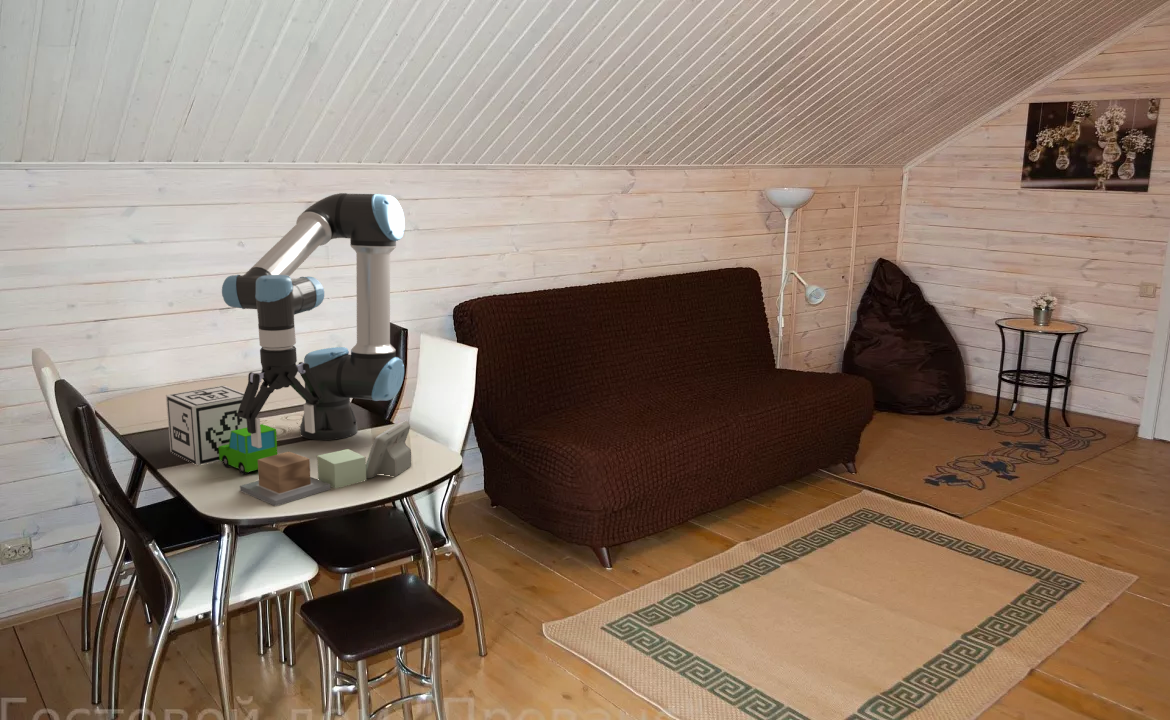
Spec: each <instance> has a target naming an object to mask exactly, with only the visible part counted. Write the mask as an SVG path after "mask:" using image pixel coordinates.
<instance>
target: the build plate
mask: <svg viewBox="0 0 1170 720" xmlns="http://www.w3.org/2000/svg"><path fill="white" fill-rule="evenodd" d="M310 479H311V484H309V485H306V486H303V487H299V488H296V489H293V490H289V491H286V492H283V493H277V492H275V491H272V490H270V489H267V488H265V487H263V486H260V485H259V480H257V481H253V482H252V481H251V482H248V483H245V484H242V485H239V491H240V492H241V493H244V494H245V495H246V494H247V495H249V496H251V497H253V496H254V498H256V499H259V500H260V499H261V501H263V502H266V503H268V504H270V505H273V506H275V507H278V506H280V505H284V504H287V503H290V502H293V501H296V500H300V499H303V498H306V497H310V496H313V495H317V494H319V493H322V492H326V491H329V490H331V486H330V484H328V483H326V482H323V481H320V480H318V478H316V477H315V478H314V477H312V476H310Z"/></svg>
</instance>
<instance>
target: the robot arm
mask: <svg viewBox="0 0 1170 720" xmlns="http://www.w3.org/2000/svg"><path fill="white" fill-rule="evenodd" d="M405 230H406V221H405V214H404V210H403V208H402V206H401V205H400V202H399V201H398V199H396V198H395V197H394V196H392V195H389V194H382V193H381V194H380V193H346V192H344V193H343V192H339V193H336V194H331V195H328V196H326V197H324V198H321V199H320V200H318V201H316V202H315V203H313V204H312V205H309V207H307V208H306V209H305V210H304V211H303V212H301V213H300V215H299V216H298V217H297V219H296V223H295V225H293V227H292V228H291V229H290V230H289V231H288V232H287V233H286V234H285V235H283V236H282V237H281V239H280V240H278V241H277V242H276V243H275V245H273V247H271V248H270V249H269V250H268V251H267V252H266V253H265V254H264V255H263V256H262V257H261V258H260V259H258V261H257V262H256V263H254V265H252V266H251V268H250V269H249V270H247V271H246V272H245V273H244V274H243V275H241V274H235V275H234V274H233V275H229V276H227V277H226V278H225V279H224V280H223V283H222V286H221V295H222V298H223V299H222V300H223V301H224V303H225V304H226V305H227V306H228V307H231V308H237V309H242V310H247V309H248V310H256V311H257V321H258V322H257V323H258V326H257V327H258V338H259V340H258V341H259V346H260V347H261V348H260V349H259V355H260V356H259V357H260V358H259V359H260V364H261V371H260V372H252V371H251V372H249V373H248V379H247V385H246V387H245V389H244V392H243V393H244V396H243V399H242V401H241V404H240V407H239V410H238V413H237V415H238V416H239V417H242V418H245V419H246V420H247V431H248V433H251V442H252V446H254V447H257V448H261V447H262V443H261V429H260V424H261V421H260V420H261V419H260V418H259V417H258V415H259V414H260V412H261V410H262V408H263V407H264V405H265V404H266V402H267V400H268V399H269V397H270V396H271V394H273V393H274V391H275V390H281V389H283V388H290V387H291V388H292V389H293V390H294V391H295V392H296V393H297V394H298V395H299V396H300V397H301V398H302V399H303V400H304V401H305V403H303V415H302V419H301V422H300V426H299V428H300V429H299V430H300V432H299V433H300V436H301V435H302V436H301V437H303V438H305V439H308V440H315V441H316V440H317V441H331V440H338V439H345V438H349V437H352V436H354V435H355V434H357V432H358V421H357V419H356V416H355V414H354V411H353V409H352V408H353V407H352V405H351V399H359V400H360V399H361V400H370V401H371V400H372V401H374V402H378V401H390V400H392V399H393V398H395V397H396V395H398V394H399V391H400V389H401V387H402V384H403V381H404V377H405V365H404V362H403V360H402V359H401V358H400V357H398V356H396V353H397V352H396V348H395V347H394V346H393V345H392V344H391V253H392V252H393V251H394V250H395V249H396V247H397V241H398V242H399V241H400V240H401V239H402V238H403V236H404V234H405V233H404V232H405ZM334 239H349V240H350V247H351V248H352V249H353V250H354V251H355V253H356V257H355V258H356V343H355V345H354V346H353V347H352V348H351V349H350V351H349V349H348V348H347V347H343V346H339V347H337V346H336V347H328V348H322V349H317V350H312V351H310V352H308V353H307V354H306V355H305V356H304V357H303V358H304V359H303V361H300V362H298V359H297V357H298V356H297V348H296V346H295V345H296V343H297V339H296V327H295V315H298V314H301V313H305V312H309V311H312V310H313V309H316V308H317V307H319V306H321V304H322V303H323V301H324V299H325V288H324V286H323V284H322V283H321V281H320V280H318V279H317V278H316V277H313V276H300V277H298V278H297V277H296V278H294V277H293V278H292V277H291V275H292V274H293V273H294V272H295V271H296V270H297V269H298V268H299V267H301V265H302V264H304V262H305V261H306V260H307V259H308V258H309V257H310V255H312V253H314V252H315V251H316V250H317V248H318V247H319V246H326V245H327V244H328V243H329V242H330V241H331V240H334ZM349 353H350V354H349ZM297 362H298V364H297ZM298 373H299V374H300V376H301V378H302V380H303V382H304V385H303V384H302V383H301V381H300V380H299V379H298V378H297V377H296V376H297V374H298ZM262 380H263V381H262ZM260 383H261V385H260Z"/></svg>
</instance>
